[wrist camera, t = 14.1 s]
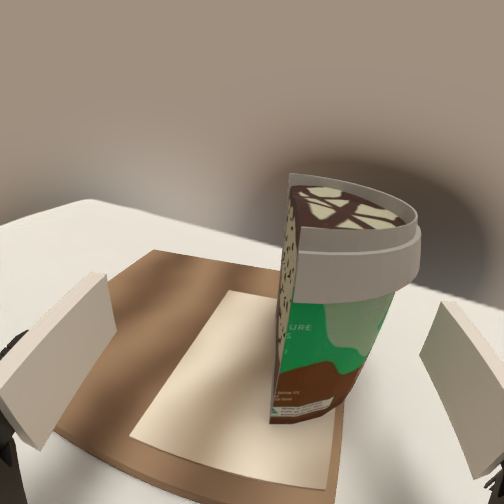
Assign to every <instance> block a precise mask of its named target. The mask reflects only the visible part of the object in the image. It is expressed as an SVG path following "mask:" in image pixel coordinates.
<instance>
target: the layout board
mask: <svg viewBox="0 0 504 504" xmlns="http://www.w3.org/2000/svg"><path fill="white" fill-rule="evenodd" d="M279 279H280V271H277V270H271V269H265V268H259V267H253V266H247V265H241V264H235V263H229V262H223V261H217V260H211V259H205V258H199V257H194V256H188V255H182V254H176V253H171V252H165V251H159V250H152V251H151V252H149V253H148V254H146V255H145V256H144V257H142V258H141V259H139V260H138V261H136V262H135V263H134V264H132V265H131V266H129V267H128V268H126V269H125V270H124V271H122V272H121V273H119V274H118V275H117V276H115V277H114V278H112V279H111V280H110V281H108V288H109V294H110V300H111V305H112V310H113V315H114V320H115V325H116V329H117V332H116V333H115V335H114V336H113V338H112V339H111V341H110V342H109V344H108V345H107V346H106V348H105V349H104V351H103V352H102V354H101V355H100V357H99V358H98V360H97V361H96V363H95V364H94V366H93V367H92V369H91V370H90V372H89V373H88V375H87V376H86V378H85V379H84V381H83V382H82V384H81V385H80V387H79V389H78V390H77V392H76V393H75V395H74V396H73V398H72V400H71V401H70V403H69V404H68V406H67V408H66V409H65V411H64V412H63V414H62V416H61V417H60V419H59V421H58V422H57V424H56V426H55V427H54V429H53V430H54V431H55V432H57V433H58V434H59V435H61V436H62V437H64V438H65V439H67V440H69V441H70V442H72V443H73V444H75V445H76V446H78V447H80V448H81V449H83V450H85V451H86V452H88V453H90V454H91V455H93V456H95V457H97V458H98V459H100V460H102V461H104V462H106V463H108V464H109V465H111V466H113V467H115V468H117V469H119V470H121V471H123V472H125V473H127V474H129V475H131V476H133V477H135V478H138V479H140V480H142V481H144V482H146V483H149V484H151V485H153V486H156V487H158V488H161V489H163V490H166V491H168V492H171V493H173V494H176V495H179V496H181V497H184V498H187V499H190V500H193V501H196V502H199V503H202V504H334V502H335V495H336V488H337V480H338V472H339V462H340V452H341V441H342V428H343V413H344V400H343V402H342V403H341V404H340V405H338V406H337V407H335V408H334V409H332V410H331V411H329V412H328V413H326V414H324V415H323V416H321V417H318V418H314V419H311V420H307V421H303V422H299V423H295V424H269V416H270V401H271V385H272V368H273V350H274V331H275V314H276V306H277V297H278V288H279Z"/></svg>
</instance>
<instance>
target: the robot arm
mask: <svg viewBox="0 0 504 504" xmlns="http://www.w3.org/2000/svg"><path fill="white" fill-rule="evenodd" d="M116 332H117V329H116V325H115V320H114V315H113V310H112V305H111V300H110V294H109V288H108V282H107V276H106V274H101V273H94V272H90V273H89V274H88V275H87V276H85V277H84V278H83V279H82V280H81V281H80V282H79V283H78V284H77V285H75V286H74V287H73V288H72V289H71V290H70V291H69V292H68V293H67V294H66V295H65V296H64V297H63V298H61V299H60V300H59V301H58V302H57V303H56V304H55V305H54V306H53V307H52V308H51V309H50V310H49V311H48V312H47V313H46V314H45V315H44V316H43V317H42V318H41V319H40V320H39V321H38V322H37V323H36V324H35V325H34V326H33V327H32V328H31V329H30V330H26V331H24V332H22V333H21V334H19V335H17V336H16V337H15V338H14V339H13V340H12V341H11V342H10V343H9V344H8V345H7V348H6V347H5V348H4V349H3V350H2V351H1V352H0V504H28V503H27V500H26V496H25V492H24V488H23V483H22V479H21V474H20V469H19V464H18V458H17V452H16V445H15V442H14V439H13V438H12V435H13V434H14V432H16V433H17V434H18V436H19V437H20V438H21V440H22V441H23V442H24V443H26V444H28V445H30V446H32V447H33V448H35V449H37V450H39V451H41V450H42V448H43V446H44V444H45V443H46V441H47V439H48V437H49V436H50V434H51V432H52V431H53V429H54V427H55V426H56V424H57V422H58V421H59V419H60V417H61V416H62V414H63V412H64V411H65V409H66V408H67V406H68V404H69V403H70V401H71V400H72V398H73V396H74V395H75V393H76V392H77V390H78V389H79V387H80V385H81V384H82V382H83V381H84V379H85V378H86V376H87V375H88V373H89V372H90V370H91V369H92V367H93V366H94V364H95V363H96V361H97V360H98V358H99V357H100V355H101V354H102V352H103V351H104V349H105V348H106V346H107V345H108V344H109V342H110V341H111V339H112V338H113V336H114V335H115V333H116ZM419 356H420V358H421V360H422V362H423V364H424V366H425V368H426V370H427V372H428V374H429V376H430V378H431V380H432V382H433V384H434V386H435V388H436V390H437V392H438V394H439V396H440V399H441V401H442V403H443V405H444V407H445V410H446V412H447V414H448V416H449V419H450V421H451V423H452V426H453V428H454V430H455V433H456V435H457V438H458V440H459V443H460V445H461V448H462V450H463V453H464V455H465V458H466V461H467V463H468V466H469V469H470V472H471V474H472V477H473V480H475V479H478V478H480V477H483V476H485V475H488V474H490V473H491V472H492V471H493V470H494V469H495V468H496V467H497V466H498V465H499V464H501V466H502V470H500V471H499V472H498V473H497V474H496V475H495V476H494V477H493V478H491V479H490V480H489V481H488V482H487V483H486V484H485V486H484V488H485V489H486V488H487V487H488V486H490V485H491V484H492V483H493V482H494V481H495V484H494V485H493V486H492V487H491V488H490V489H489V490H491V491H492V493H491V496H490V499H489V502H488V504H504V364H503V362H502V361H501V360H500V358H499V357H498V355H497V354H496V353H495V351H494V350H493V349H492V347H491V346H490V345H489V343H488V342H487V341H486V339H485V338H484V337H483V335H482V334H481V333H480V332H479V330H478V329H477V328H476V327H475V325H474V324H473V323H472V322H471V320H470V319H469V318H468V317H467V315H466V314H465V313H464V312H463V311H462V309H461V308H460V307H459V306H458V305H457V303H456V302H443V301H441V303H440V306H439V308H438V311H437V314H436V316H435V319H434V321H433V324H432V326H431V329H430V331H429V334H428V336H427V338H426V341H425V343H424V345H423V348H422V350H421V352H420V354H419Z"/></svg>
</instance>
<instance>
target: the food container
mask: <svg viewBox="0 0 504 504" xmlns="http://www.w3.org/2000/svg"><path fill="white" fill-rule="evenodd" d="M417 219H418V215H417V212H416V211H415V210H414V209H413V207H411V206H410V205H409V204H407V203H405V202H404V201H402V200H400V199H398V198H396V197H393V196H391V195H389V194H386V193H383V192H381V191H378V190H375V189H372V188H368V187H365V186H361V185H358V184H353V183H349V182H345V181H340V180H335V179H329V178H324V177H318V176H310V175H302V174H294V173H289V183H288V193H287V208H286V220H285V229H284V240H283V250H282V260H281V269H280V279H279V288H278V297H277V306H276V314H275V331H274V350H273V368H272V385H271V401H270V416H269V424H295V423H299V422H303V421H307V420H311V419H314V418H318V417H321V416H323V415H324V414H326V413H328V412H329V411H331V410H332V409H334V408H335V407H337V406H338V405H340V404H341V403H342V402H343V400H344V399H345V398H346V396H347V395H348V393H349V392H350V390H351V389H352V387H353V385H354V383H355V381H356V379H357V377H358V376H359V374H360V372H361V370H362V367H363V365H364V363H365V361H366V359H367V357H368V355H369V353H370V351H371V349H372V346H373V344H374V342H375V340H376V338H377V335H378V333H379V331H380V329H381V326H382V324H383V321H384V319H385V317H386V314H387V312H388V309H389V307H390V304H391V302H392V299H393V297H394V294H395V292H396V291H398V290H399V289H401V288H403V287H404V286H406V285H408V284H409V283H410V282H411V281H412V280H413V279H414V278H415V277H416V276H417V273H418V270H419V267H420V250H421V231H420V228H419V226H418V225H417Z"/></svg>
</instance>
